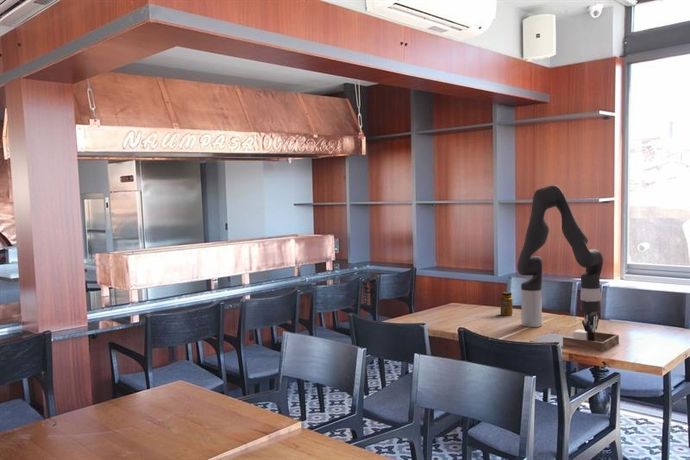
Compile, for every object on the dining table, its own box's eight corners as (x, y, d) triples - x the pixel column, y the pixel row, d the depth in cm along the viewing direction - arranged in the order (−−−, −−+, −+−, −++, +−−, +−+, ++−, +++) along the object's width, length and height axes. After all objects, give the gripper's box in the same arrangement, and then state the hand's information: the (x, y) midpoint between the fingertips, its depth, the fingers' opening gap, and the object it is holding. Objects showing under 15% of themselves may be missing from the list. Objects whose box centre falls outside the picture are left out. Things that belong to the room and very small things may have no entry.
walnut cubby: (579, 337, 250) (579, 329, 250) (618, 343, 239) (618, 334, 239) (562, 345, 237) (562, 337, 237) (603, 352, 226) (603, 343, 226)
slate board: (548, 335, 260) (548, 333, 259) (619, 345, 239) (619, 343, 239) (529, 343, 246) (529, 340, 246) (603, 354, 226) (603, 352, 226)
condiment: (515, 315, 306) (515, 292, 305) (507, 317, 300) (507, 294, 299) (503, 313, 311) (503, 291, 310) (494, 316, 305) (494, 293, 304)
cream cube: (578, 341, 244) (578, 329, 244) (590, 342, 240) (590, 330, 240) (573, 343, 240) (573, 331, 240) (586, 345, 237) (585, 333, 237)
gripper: (587, 296, 245) (587, 337, 245) (574, 300, 235) (575, 343, 236) (605, 297, 240) (606, 339, 240) (594, 302, 230) (594, 345, 231)
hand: (591, 341), depth 238 cm, fingers closed
